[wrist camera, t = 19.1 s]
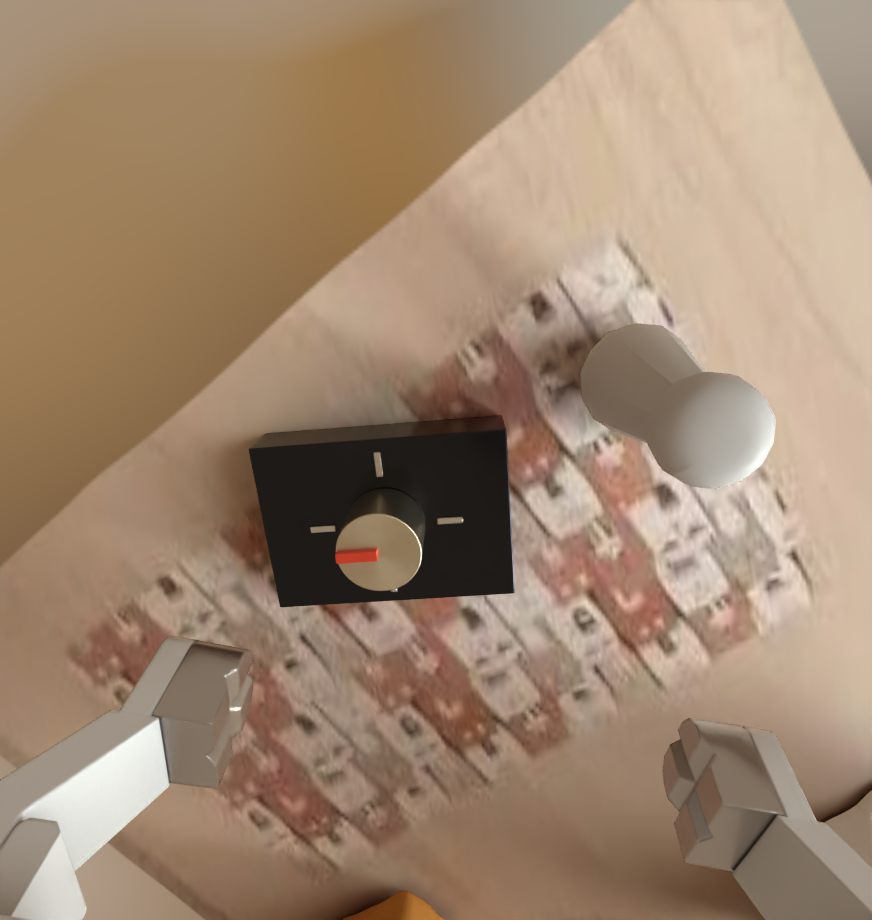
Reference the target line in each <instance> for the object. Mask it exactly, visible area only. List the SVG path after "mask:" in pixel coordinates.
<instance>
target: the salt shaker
mask: <svg viewBox="0 0 872 920" xmlns="http://www.w3.org/2000/svg"><path fill="white" fill-rule="evenodd" d="M580 378H581V395H582V399H583V401H584V403H585V405H586V407H587V408H588V410H589V412H590V414H591V415H592V417H593V419H594V420H596V421H598V422H599V423H601V424H602V425H604V426H606V427H607V428H609V429H610V430H612V431H614V432H617V433H620V434H622V435H625V436H628V437H631V438H634V439H637V440H640V441H643V442H646V443H648V446H649V448H650V450H651V452H652V453H653V455H654V457H655V459H656V461H657V463H658V464H659V466H660V467H661V468H662V470H663V471H665V472H667V473H668V474H670V475H672V476H673V477H675V478H676V479H678V480H680V481H681V482H683V483H685V484H687V485H689V486H692V487H700V488H709V489H718V488H721V487H724V486H728V485H731V484H734V483H737V482H740V481H742V480H743V479H744V478H746V477H747V476H748V475H749V474H751V473H752V472H753V471H755V470H756V469H757V468H758V467H760V466H761V465H762V463H763V461H764V460H765V458H766V456H767V454H768V452H769V450H770V448H771V447H772V445H773V443H774V433H775V420H776V418H775V416H774V414H773V412H772V410H771V407H770V405H769V403H768V401H767V399H766V397H765V396H764V395H763V394H762V393H761V392H760V391H759V390H757V389H756V388H754V387H753V386H752V385H750V384H749V383H747V382H746V381H744V380H743V379H742V378H740V377H739V376H735V375H732V374H724V373H714V372H706V371H705V370H704V368H703V367H702V366H701V364H700V363H699V362H698V360H697V359H696V358H695V356H694V355H693V354H692V352H691V351H690V350H689V349H688V347H687V346H686V345H685V343H684V342H683V341H682V340H681V339H680V338H678V337H677V336H676V335H674V334H673V333H671V332H670V331H669V330H667V329H666V328H664V327H663V326H659V325H648V324H632V325H629V326H626V327H623V328H620V329H617V330H614V331H611V332H608V333H607V334H606V335H605V336H604V337H603V338H602V339H601V340H600V341H599V342H598V343H597V344H596V345H595V346H594V347H593V348H592V349H591V350H590V352H589V354H588V356H587V358H586V361H585V363H584V365H583V367H582V370H581V372H580Z"/></svg>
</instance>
